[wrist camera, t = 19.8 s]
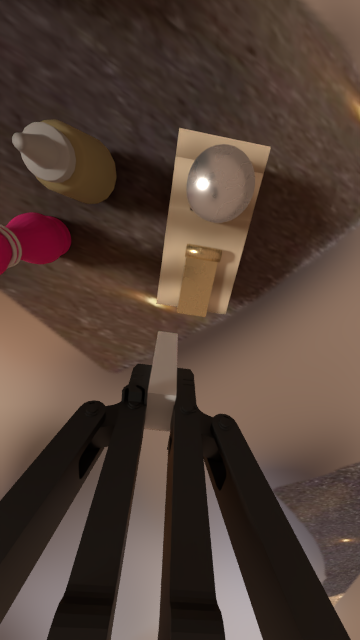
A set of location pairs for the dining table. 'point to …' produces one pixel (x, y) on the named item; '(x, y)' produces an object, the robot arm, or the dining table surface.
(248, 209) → the maple block
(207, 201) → the silver capsule
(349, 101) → the dining table surface
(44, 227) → the pepper mill
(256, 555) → the robot arm
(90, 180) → the squeeze bottle
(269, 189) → the dining table surface
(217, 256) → the brass latch
